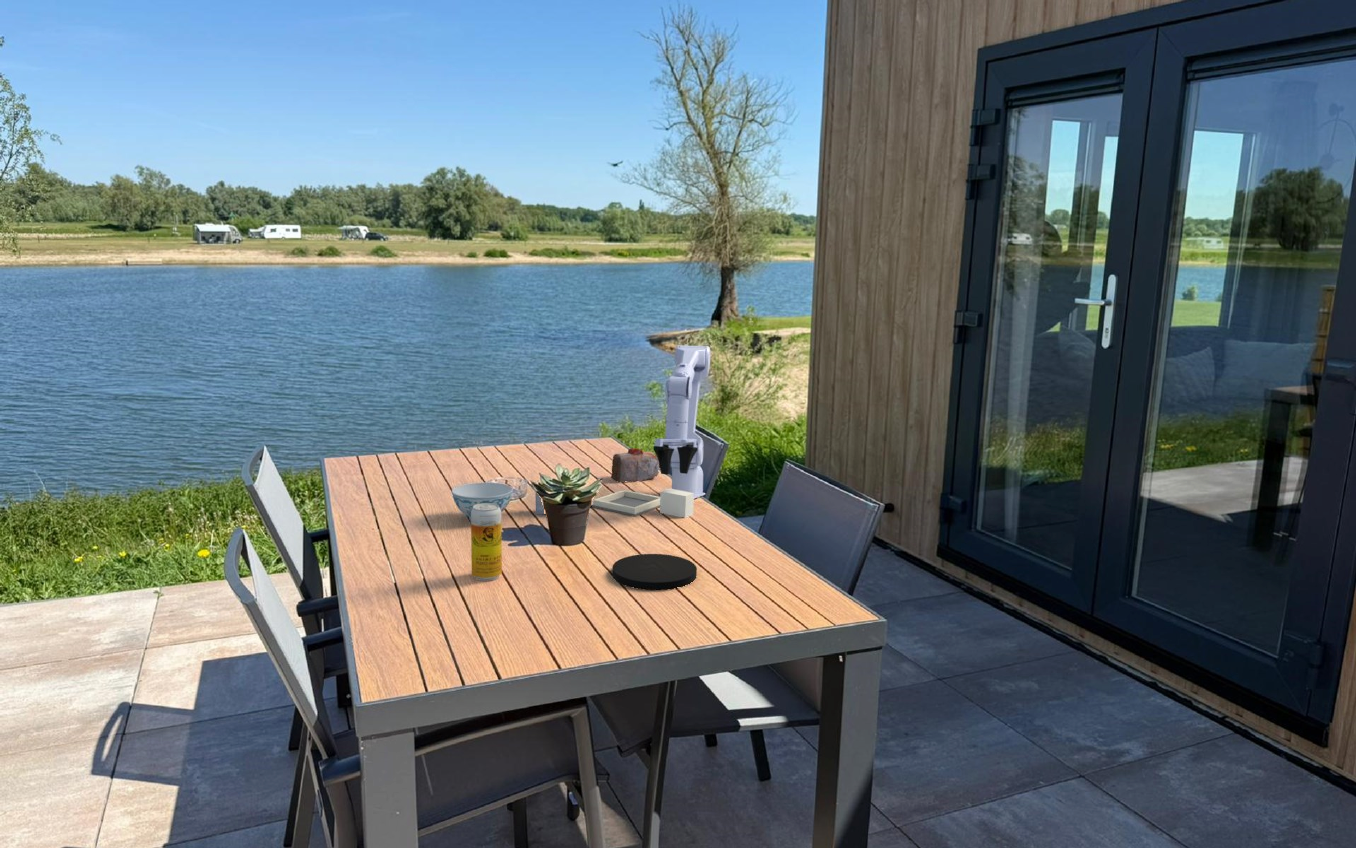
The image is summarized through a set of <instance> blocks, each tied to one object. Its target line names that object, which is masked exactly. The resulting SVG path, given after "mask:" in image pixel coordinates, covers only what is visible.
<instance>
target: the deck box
mask: <svg viewBox="0 0 1356 848" xmlns="http://www.w3.org/2000/svg"><path fill="white" fill-rule="evenodd" d="M659 492H660V496H659V497H660V507H659V514H663V513H664V514H663V515H669V516H673V515H674V517H677V518H682V517H684V518H683V519H686V517H687V518H688V517H691V515H692V516H694V508H695V507H694V505H695V502H694V501H695V499H694V493H691V492H685V491H680V490H675V489H672V488H671V487H670V488H665V489H663V490H661V491H659Z"/></svg>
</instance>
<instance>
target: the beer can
mask: <svg viewBox="0 0 1356 848" xmlns="http://www.w3.org/2000/svg"><path fill="white" fill-rule="evenodd" d="M470 540H471V541H470V542H471V543H470V544H471V545H470V546H471V551H470V552H471V559H470V560H471V575H472V576H473V578H474V579H475V580H477V581H485V582H487V581H488V582H489V581H495V580H497V579H498V578H499V577H500V575H501V574H502V571H503V570H502V568H503V565H502V564H503V561H502V559H503V558H502V557H503V555H502V551H503V549H502V542H503V541H502V512H501V510H500V508H499V505H497V504H493V503H481V504H477V505H474V506H473V509H472V511H471V521H470Z"/></svg>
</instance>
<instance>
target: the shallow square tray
mask: <svg viewBox="0 0 1356 848" xmlns="http://www.w3.org/2000/svg"><path fill="white" fill-rule="evenodd" d="M593 500H594V501H593ZM593 500H592V504H591V505H592V507H591V508H593V509H598V508H599V509H600V510H604V511H608V510H609V512H613V513H617V514H622V515H627V516H631V517H637V516H640V515H643V514H645V513H648V512H651V511H654V510H656V508H657V509H660V496H658V495H653V494H652V495H651V494H647V493H643V492H638V491H637V492H636V491H633V490H627V489H623V490H620V491H616V492H613V493H610V494H607V495H604V496H601V497H597V498H595V499H593Z"/></svg>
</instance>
